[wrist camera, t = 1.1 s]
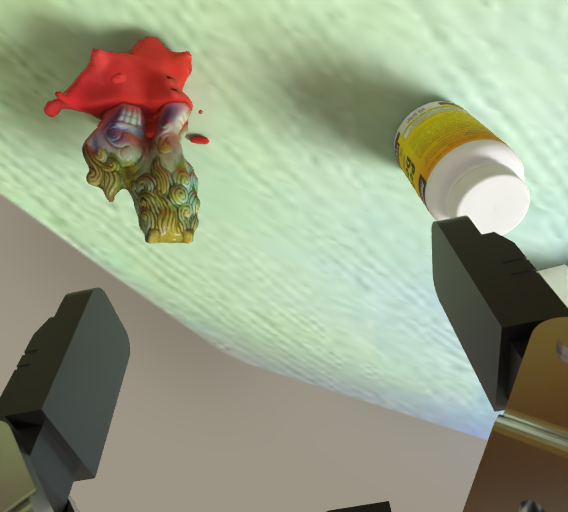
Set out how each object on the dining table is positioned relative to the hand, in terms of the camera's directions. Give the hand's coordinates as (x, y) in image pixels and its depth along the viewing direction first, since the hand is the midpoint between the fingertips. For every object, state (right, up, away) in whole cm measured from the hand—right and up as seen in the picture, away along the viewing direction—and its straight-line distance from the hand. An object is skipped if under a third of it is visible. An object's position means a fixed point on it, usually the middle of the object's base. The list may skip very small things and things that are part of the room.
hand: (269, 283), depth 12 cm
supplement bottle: (+11, +9, +22) cm, 26 cm away
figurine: (-8, +11, +20) cm, 24 cm away
